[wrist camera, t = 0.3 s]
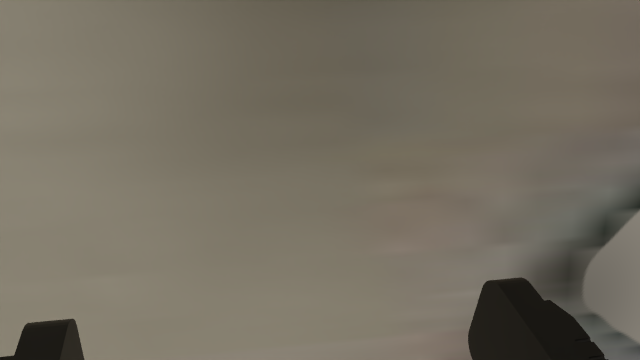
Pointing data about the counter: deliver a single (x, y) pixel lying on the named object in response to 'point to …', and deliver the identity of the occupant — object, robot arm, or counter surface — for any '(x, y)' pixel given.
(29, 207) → the counter surface
